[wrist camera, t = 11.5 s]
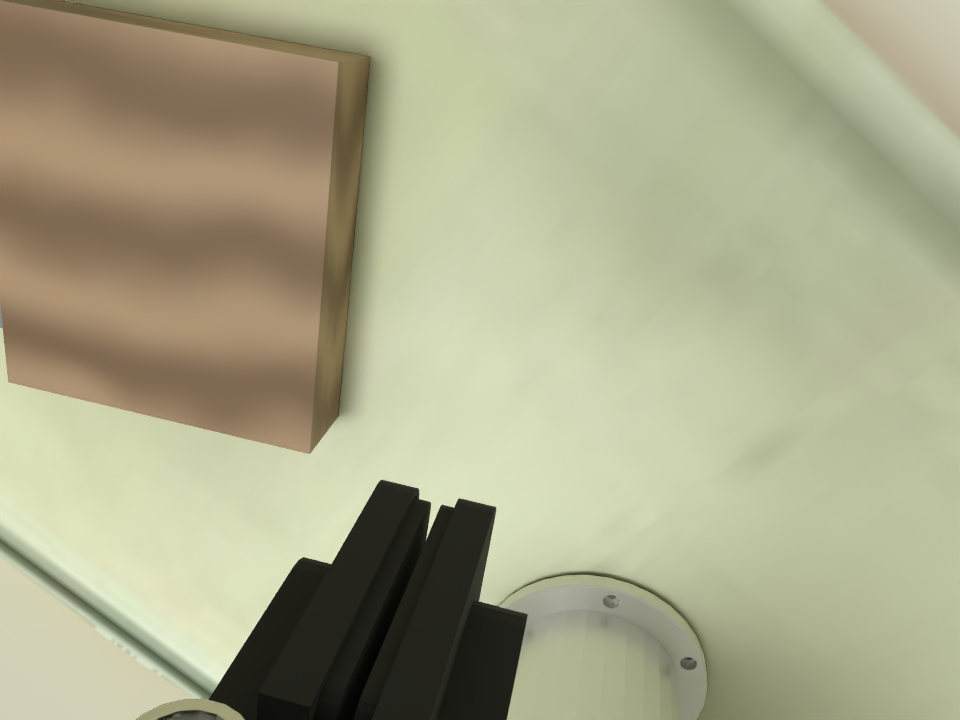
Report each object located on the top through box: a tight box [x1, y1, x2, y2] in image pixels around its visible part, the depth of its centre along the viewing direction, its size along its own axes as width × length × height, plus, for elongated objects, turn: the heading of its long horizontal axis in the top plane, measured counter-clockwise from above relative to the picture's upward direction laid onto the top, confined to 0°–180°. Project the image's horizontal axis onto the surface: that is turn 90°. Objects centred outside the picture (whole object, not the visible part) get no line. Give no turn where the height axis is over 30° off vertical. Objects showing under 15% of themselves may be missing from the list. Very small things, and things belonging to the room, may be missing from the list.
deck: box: [0, 0, 370, 454], centre depth 38 cm, size 18×16×4 cm
